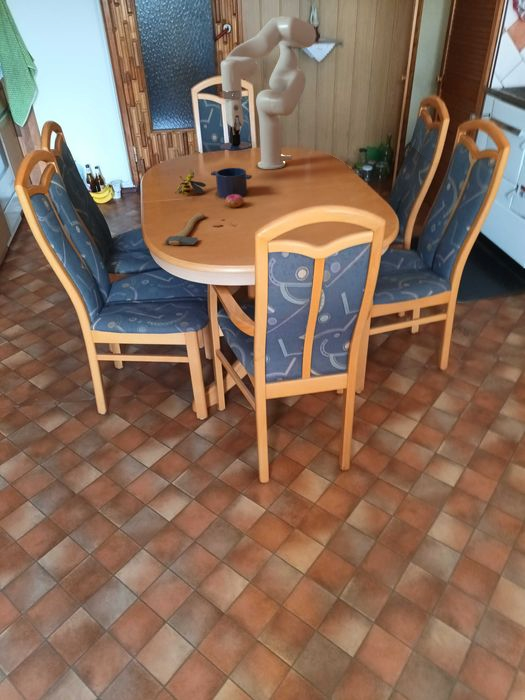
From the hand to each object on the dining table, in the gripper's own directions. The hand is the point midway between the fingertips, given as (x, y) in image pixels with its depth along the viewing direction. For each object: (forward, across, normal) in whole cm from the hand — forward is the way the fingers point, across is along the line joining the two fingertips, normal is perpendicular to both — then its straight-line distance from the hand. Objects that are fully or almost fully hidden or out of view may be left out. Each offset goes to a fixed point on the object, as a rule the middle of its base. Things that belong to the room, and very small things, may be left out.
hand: (235, 143), depth 218 cm
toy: (+16, -10, +24) cm, 30 cm away
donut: (+15, -30, +10) cm, 35 cm away
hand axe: (+16, -48, +30) cm, 58 cm away
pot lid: (+1, 0, 0) cm, 1 cm away
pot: (+15, -16, +7) cm, 23 cm away
